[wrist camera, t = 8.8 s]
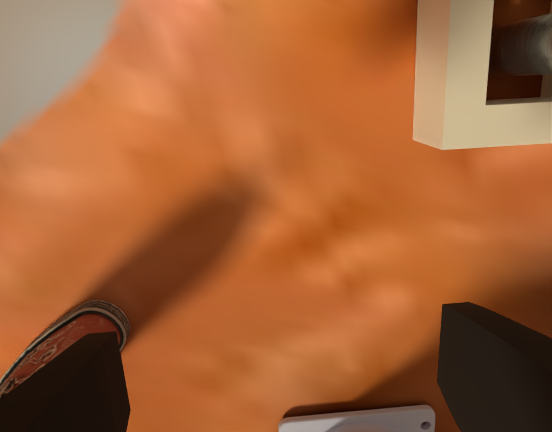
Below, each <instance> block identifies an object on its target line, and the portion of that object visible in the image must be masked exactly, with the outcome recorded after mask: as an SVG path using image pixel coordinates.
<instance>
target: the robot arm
mask: <svg viewBox="0 0 552 432" xmlns="http://www.w3.org/2000/svg"><path fill="white" fill-rule="evenodd" d="M437 382H438V385H439V387H440V389H441V392H442V394H443V396H444V398H445V401H446V403H447V405H448V407H449V409H450V411H451V413H452V416H453V418H454V420H455V422H456V424H457V425H458V427H459V429H460V430H461V432H552V338H549V337H547V336H545V335H543V334H541V333H539V332H536V331H534V330H532V329H530V328H528V327H526V326H523V325H521V324H519V323H517V322H515V321H513V320H511V319H508V318H506V317H504V316H502V315H500V314H497V313H495V312H493V311H491V310H488V309H486V308H484V307H481V306H479V305H476V304H473V303H470V302H464V303H452V304H442V318H441V332H440V347H439V361H438V375H437ZM129 415H130V404H129V399H128V393H127V387H126V382H125V376H124V370H123V365H122V359H121V354H120V348H119V342H118V337H117V331H113V332H101V333H89V334H86V335H85V336H83V337H82V338H80V339H79V340H77V341H76V342H75V343H73V344H72V345H70V346H69V347H68V348H66V349H65V350H64V351H63V352H61V353H60V354H59V355H57V356H56V357H55V358H53V359H52V360H51V361H50V362H48V363H47V364H46V365H44V366H43V367H42V368H40V369H39V370H38V371H37V372H35V373H34V374H33V375H31V376H30V377H29V378H27V379H26V380H25V381H23V382H22V383H21V384H19V385H18V386H17V387H16V388H14V389H13V390H12V391H10V392H9V393H7V394H6V395H5V396H3V397H2V398H0V432H126V430H127V425H128V420H129ZM423 422H426V423H425V424H423V425H422V423H423ZM278 429H279V432H434V431H435V412H434V411H433V409H432V408H431V407H430V406H428V405H416V406H405V407H395V408H384V409H373V410H362V411H351V412H340V413H329V414H318V415H308V416H297V417H287V418H284V419H282V420H281V421H280V422H279V426H278Z"/></svg>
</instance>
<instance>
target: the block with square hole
mask: <svg viewBox="0 0 552 432" xmlns="http://www.w3.org/2000/svg"><path fill="white" fill-rule="evenodd" d="M493 6H494V0H418V9H417V37H416V64H415V91H414V119H413V140H414V141H417V142H420V143H423V144H426V145H429V146H432V147H435V148H438V149H441V150H447V149H463V148H480V147H496V146H512V145H528V144H545V143H552V75H543V78H542V86H541V95H540V97H532V98H514V99H496V100H486V93H487V80H488V68H489V55H490V43H491V31H492V18H493ZM550 13H552V0H551V7H550Z"/></svg>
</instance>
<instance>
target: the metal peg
mask: <svg viewBox="0 0 552 432" xmlns="http://www.w3.org/2000/svg"><path fill="white" fill-rule="evenodd" d="M488 75H491V76H521V75H552V13H549V14H545V15H540V16H536V17H531V18H527V19H523V20H518V21H514V22H510V23H505V24H501V25H497V26H494V27H492V31H491V43H490V55H489V68H488Z"/></svg>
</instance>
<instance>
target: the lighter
mask: <svg viewBox="0 0 552 432" xmlns="http://www.w3.org/2000/svg"><path fill="white" fill-rule="evenodd" d="M113 331H117V337H118V342H119V348H120V351H121V350H122V349H123V347H124V344H125V342H126V340H127V338H128V335H129V333H130V323H129V321H128V318H127V316H126V315H125V313H124V312H123V311H122V310H121V309H120V308H119V307H117V306H115V305H114V304H112V303H110V302H107V301H103V300H90V301H88V302H85V303H83V304H81V305H80V306H78V307H77V308H75V309H74V310H72V311H71V312H69V313H68V314H66V315H64V316H63V317H61V318H60V319H58V320H57V321H56V322H54V323H53V324H52V325H51V326H50V327H49V328H47V329H46V330H45V331H44V332H43V333H41V334H40V335H39V336H38V337H37V338H36V339H34V340H33V341H32V342H31V343H30V344H29V346H28V347H27V348H26V349H25V350H24V351H23V353H22V354H21V355H20V356H19V357H18V358H17V360H16V361H15V362H14V363H13V364H12V365H11V367H10V368H9V369H8V370H7V372H6V373H5V374H4V375H3V377H2V378H1V380H0V398H2V397H3V396H5V395H6V394H7V393H9V392H10V391H12V390H13V389H14V388H16V387H17V386H18V385H19V384H21V383H22V382H23V381H25V380H26V379H27V378H29V377H30V376H31V375H33V374H34V373H35V372H37V371H38V370H39V369H40V368H42V367H43V366H44V365H46V364H47V363H48V362H50V361H51V360H52V359H53V358H55V357H56V356H57V355H59V354H60V353H61V352H63V351H64V350H65V349H66V348H68V347H69V346H70V345H72V344H73V343H75V342H76V341H77V340H79V339H80V338H82V337H83V336H85V335H86V334H89V333H101V332H113Z"/></svg>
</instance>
